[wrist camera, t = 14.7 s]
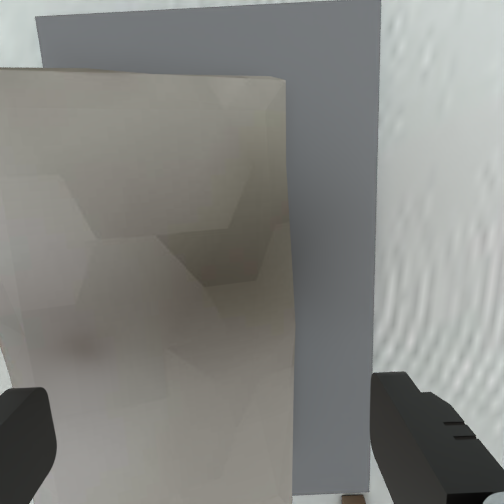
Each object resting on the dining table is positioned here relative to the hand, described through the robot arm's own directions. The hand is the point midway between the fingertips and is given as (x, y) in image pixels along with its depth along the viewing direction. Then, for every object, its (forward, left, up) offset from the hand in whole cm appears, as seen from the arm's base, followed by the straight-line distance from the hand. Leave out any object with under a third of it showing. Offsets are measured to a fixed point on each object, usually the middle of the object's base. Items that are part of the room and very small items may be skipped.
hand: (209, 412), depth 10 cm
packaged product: (-2, 0, -8) cm, 8 cm away
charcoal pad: (0, 0, -10) cm, 10 cm away
